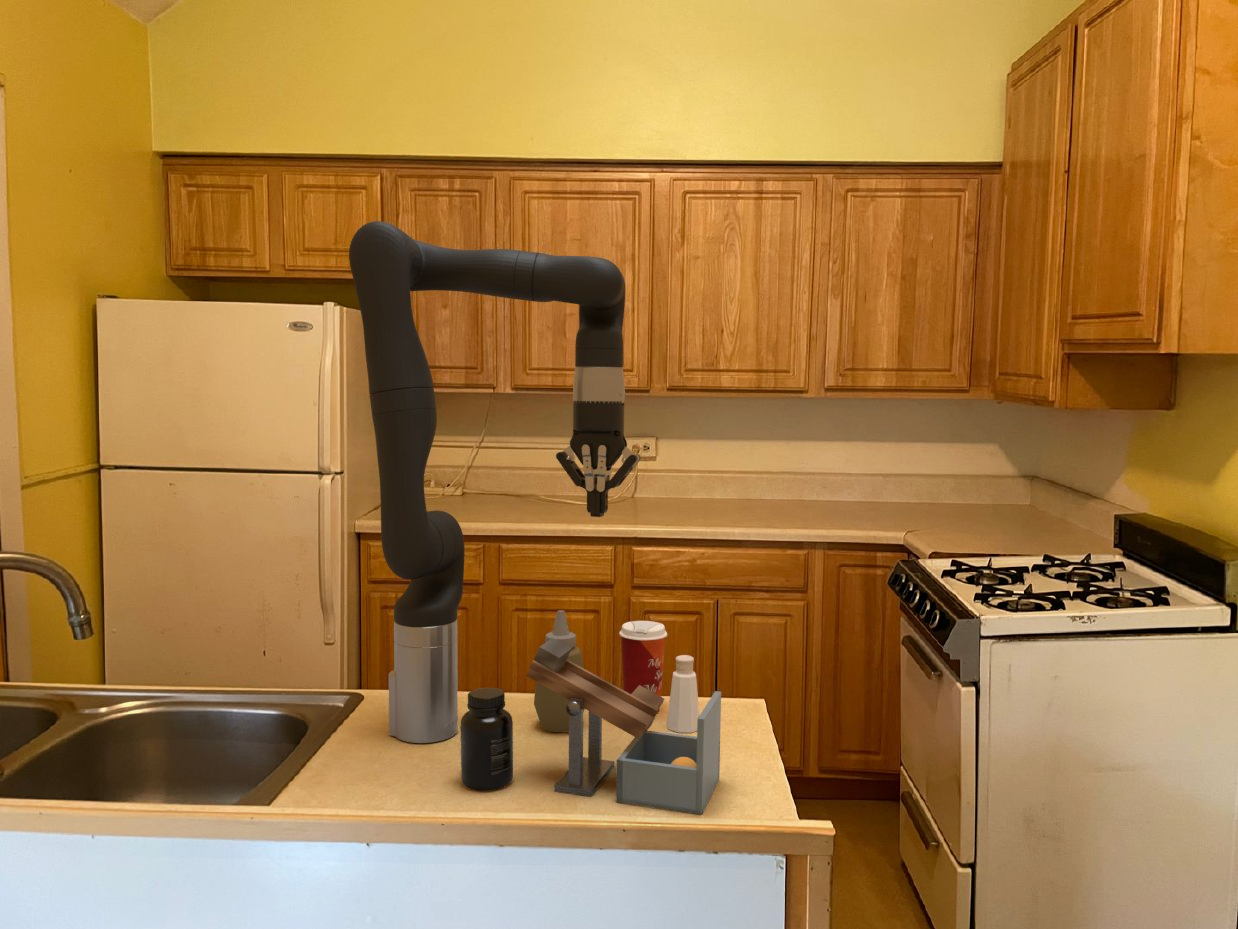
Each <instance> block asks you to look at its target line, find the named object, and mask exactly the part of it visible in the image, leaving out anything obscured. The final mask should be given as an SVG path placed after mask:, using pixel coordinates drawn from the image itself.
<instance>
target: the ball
mask: <svg viewBox="0 0 1238 929" xmlns="http://www.w3.org/2000/svg"><path fill="white" fill-rule="evenodd" d="M671 764H672V765H679V766H687V767H694V768H697V764H696V763H695V762H694V761H693V760H692V759H690V758H688V757H679V758H677V759H675V760H674V761H673V762H672V763H671Z"/></svg>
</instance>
